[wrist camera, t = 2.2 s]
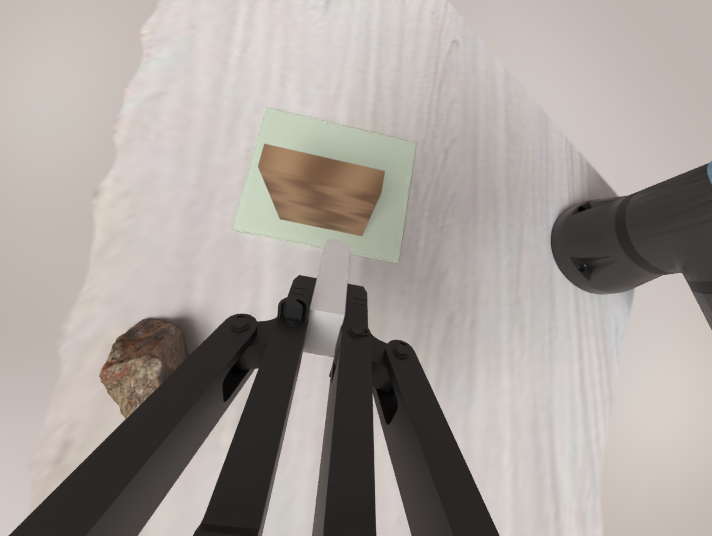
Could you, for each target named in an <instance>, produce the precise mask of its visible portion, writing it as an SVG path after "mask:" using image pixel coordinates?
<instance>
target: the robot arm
mask: <svg viewBox="0 0 712 536" xmlns="http://www.w3.org/2000/svg"><path fill="white" fill-rule="evenodd" d="M551 243H552V251H553V255H554V258H555V260H556V263H557V265H558V266H559V268H560V270H561V271H562V273H563V274H564V275H565V276H566V277H567V278H568V279H569V280H570V281H571V282H572V283H573V284H574V285H576V286H577V287H579V288H580V289H582V290H584V291H587V292H590V293H594V294H612V293H620V292H625V291H628V290H630V289H633V288H635V287H637V286H639V285H642V284H644V283H646V282H648V281H651V280H653V279H655V278H658V277H660V276H662V275H667V274H674V273H682V274H683V275H684V277H685V279H686V281H687V283H688V284H689V286H690V288H691V290H692V292H693V294H694V296H695V298H696V300H697V302H698V304H699V306H700V308H701V310H702V312H703V314H704V316H705V318H706V320H707V322H708V324H709V326H710V328H711V329H712V161H711V162H710V163H708V164H705V165H703V166H700V167H698V168H695V169H693V170H690V171H688V172H686V173H683V174H681V175H678V176H676V177H673V178H671V179H668V180H666V181H663V182H661V183H658V184H656V185H653V186H651V187H648V188H646V189H644V190H641V191H639V192H636V193H634V194H631V195H629V196H623V197H614V198H606V199H598V200H590V201H586V202H583V203H580V204H578V205H576V206H574V207H572V208H570V209H568V210H566V211H565V212H563V213H562V214H561V215H560V216H559V218H558V219H557V221H556V223H555V225H554V227H553V231H552V238H551ZM350 245H351V243H349V242H344V241H339V240H334V239H329V238H327V240H326V244H325V248H324V252H323V256H322V260H321V264H320V269H319V273H318V277H317V278H312V277H307V276H302V275H299V276H298V277H297V278H295V279H294V280H293V283H292V286H291V288H290V291H289V294H288V297H287V298H284V299H283V300H281V301H280V303H279V305H278V316H277V317H276V318H275V319H272V320H269V321H259V322H257V321H256V319H255V318H254V317H252V316H251V315H248V314H236V315H233V316H230V317H229V318H227V319H226V320H225V321H224V322H223V323H222V324H221V325H220V326H219V327H218V328H217V329H216V330H215V331H214V332H213V333H212V334H211V335H210V336H209V337H208V338H207V339H206V340H205V341H204V342H203V343H202V344H201V345H200V346H199V347H198V348H197V349H196V350H195V351H194V352H193V353H192V354H191V355H190V356H189V357H188V358H187V359H186V360H185V361H184V362H183V363H182V364H181V365H180V366H179V367H178V368H177V369H176V370H175V371H174V372H173V373H172V374H171V375H170V376H169V377H168V378H167V379H166V380H165V381H164V382H163V383H162V384H161V385H160V386H159V387H158V388H157V389H156V390H155V391H154V392H153V393H152V394H151V395H150V396H149V397H148V398H147V399H146V400H145V401H144V402H143V403H142V404H141V405H140V406H139V407H138V408H137V409H136V410H135V411H134V412H133V413H132V414H131V415H130V416H129V417H128V418H127V419H126V420H124V421H123V422H122V423H121V424H120V425H119V426H118V427H117V428H116V429H115V430H114V431H113V432H112V433H111V434H110V435H109V436H108V437H107V438H106V439H105V440H104V441H103V442H102V443H101V444H100V445H99V446H98V447H97V448H96V449H95V450H94V451H93V452H92V453H91V454H90V455H89V456H88V457H87V458H86V459H85V460H84V461H83V462H82V463H81V464H80V465H79V466H78V467H77V468H76V469H75V470H74V471H73V472H72V473H71V474H70V475H69V476H68V477H67V478H66V479H65V480H64V481H63V482H62V483H61V484H60V485H59V486H58V487H57V488H56V489H55V490H54V491H53V492H52V493H51V494H50V495H49V496H48V497H47V498H46V499H45V500H44V501H43V502H42V503H41V504H40V505H39V506H38V507H37V508H36V509H35V510H34V511H33V512H32V513H31V514H30V515H29V516H28V517H27V518H26V519H25V520H24V521H23V522H22V523H21V524H20V525H19V526H18V527H17V528H16V529H15V530H14V531H13V532H12V533H11V534H10V535H9V536H138V534H139V533H140V532H141V530H142V529H143V527H144V526H145V525H146V523H147V522H148V520H149V519H150V517H151V516H152V515H153V513H154V512H155V510H156V509H157V507H158V506H159V505H160V503H161V502H162V500H163V499H164V498H165V496H166V495H167V493H168V492H169V490H170V489H171V488H172V486H173V485H174V483H175V482H176V481H177V479H178V478H179V476H180V475H181V473H182V472H183V471H184V469H185V468H186V466H187V465H188V463H189V462H190V461H191V459H192V458H193V456H194V455H195V454H196V452H197V451H198V449H199V448H200V446H201V445H202V444H203V442H204V441H205V439H206V438H207V437H208V435H209V434H210V432H211V431H212V429H213V428H214V427H215V425H216V424H217V422H218V421H219V419H220V418H221V417H222V415H223V414H224V412H225V411H226V410H227V408H228V407H229V405H230V404H231V402H232V401H233V400H234V398H235V397H236V395H237V394H238V393H239V391H240V390H241V388H242V387H243V385H244V384H245V383H246V381H247V380H248V378H249V377H250V376H251V374H252V373H253V371H254V369H257V368H259V369H258V372H257V375H256V377H255V380H254V383H253V385H252V388H251V391H250V394H249V396H248V399H247V402H246V405H245V407H244V410H243V413H242V415H241V418H240V421H239V424H238V426H237V429H236V432H235V434H234V437H233V440H232V443H231V445H230V448H229V451H228V453H227V456H226V459H225V462H224V464H223V467H222V470H221V472H220V475H219V478H218V481H217V483H216V486H215V489H214V492H213V494H212V497H211V500H210V502H209V505H208V508H207V511H206V513H205V516H204V518H203V520H202V522H201V524H200V525H199V527H198V528H197V529H196V531H195V533H194V535H193V536H262V533H263V528H264V524H265V519H266V515H267V511H268V506H269V502H270V497H271V493H272V488H273V484H274V479H275V475H276V470H277V466H278V461H279V457H280V453H281V448H282V444H283V439H284V435H285V430H286V426H287V421H288V417H289V412H290V408H291V403H292V399H293V395H294V390H295V386H296V381H297V377H298V372H299V368H300V363H301V358H302V353H303V352H307V353H313V354H319V355H325V356H331V357H334V361H333V364H332V368H331V372H330V375H329V377H331V378H330V387H329V395H328V404H327V413H326V421H325V430H324V438H323V447H322V455H321V464H320V473H319V481H318V490H317V498H316V507H315V515H314V524H313V533H312V536H376V513H375V474H374V435H373V396H374V400H375V403H376V407H377V411H378V414H379V418H380V422H381V425H382V429H383V433H384V436H385V440H386V444H387V447H388V451H389V455H390V458H391V462H392V465H393V469H394V473H395V476H396V480H397V484H398V487H399V491H400V495H401V498H402V502H403V506H404V509H405V513H406V517H407V520H408V524H409V528H410V531H411V535H412V536H499V534H498V531H497V529H496V527H495V525H494V523H493V521H492V518H491V516H490V514H489V512H488V510H487V508H486V505H485V503H484V501H483V499H482V497H481V494H480V492H479V490H478V488H477V486H476V484H475V481H474V479H473V477H472V475H471V473H470V471H469V468H468V466H467V464H466V462H465V460H464V458H463V455H462V453H461V451H460V449H459V447H458V445H457V442H456V440H455V438H454V436H453V434H452V431H451V429H450V427H449V425H448V423H447V421H446V418H445V416H444V414H443V412H442V410H441V408H440V405H439V403H438V401H437V399H436V397H435V395H434V392H433V390H432V388H431V386H430V384H429V382H428V379H427V377H426V375H425V373H424V371H423V369H422V366H421V364H420V362H419V360H418V358H417V355H416V353H415V351H414V350H413V348H412V347H411V346H410V345H409V344H408V343H406V342H404V341H401V340H392V341H390V342H389V343H388V344H387V343H385V342H383V341H380V340H378V339H377V338H375V337H374V336H373V335H372V334H371V333H370V330H369V329H368V311H367V292H366V290H365V289H364V287H362V286H357V285H352V284H347V281H348V269H349V257H350ZM372 393H373V396H372Z"/></svg>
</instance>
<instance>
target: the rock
mask: <svg viewBox="0 0 712 536" xmlns="http://www.w3.org/2000/svg"><path fill="white" fill-rule="evenodd" d="M187 358H188V356H187V351H186V347H185V343H184V336H183V333H182V331H181V329H179V328H178V327H175V326H174V325H173V323H165V324H164V323H163V322H162V321H161V320H155V319H146V320H141V321H140V322H139V323H137V324H136V325H135V326H134V327H132V328H131V329H130V330H128V331H127V332H126V333H125V334H123V335H121V336H119V337H118V338H117V340H116V342H115V343H114V344H113V346H112V350H111V352H110V355H109V357H108V359H107V361H106V363H105V364H104V366H103V368H102V369H101V373H100V376H99V377H100V378H101V382H102V383H103V384H104V386H105V387H106V389H107V392H108V394H109V395H110V396H111V397H112V399H113V400H114V401H115V402H116V403H117V404H118V405H119V407H120V411H121V413H122V415H123V416H124V417H125V418H126V419H127V418H128V417H129V416H130V415H131V414H132V413H133V412H134V411H135V410H136V409H137V408H138V407H139V406H140V405H141V404H142V403H143V402H144V401H145V400H146V399H147V398H148V397H149V396H150V395H151V394H152V393H153V392H154V391H155V390H156V389H157V388H158V387H159V386H160V385H161V384H162V383H163V382H164V381H165V380H166V379H167V378H168V377H169V376H170V375H171V374H172V373H173V372H174V371H175V370H176V369H177V368H178V367H179V366H180V365H181V364H182V363H183V362H184V361H185V360H186V359H187Z"/></svg>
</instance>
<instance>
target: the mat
mask: <svg viewBox="0 0 712 536" xmlns="http://www.w3.org/2000/svg"><path fill="white" fill-rule="evenodd" d="M264 144H268V145H273V146H277V147H282V148H286V149H290V150H295V151H299V152H304V153H308V154H312V155H317V156H321V157H326V158H330V159H334V160H339V161H343V162H348V163H352V164H356V165H361V166H365V167H370V168H374V169H378V170H383V171H385V175H384V181H383V187H382V192H381V195H380V198H379V200H378V202H377V204H376V206H375V209H374V211H373V213H372V215H371V217H370V219H369V222H368V224H367V226H366V228H365V230H364V232H363V235H362V236H358V235H353V234H348V233H343V232H339V231H334V230H329V229H324V228H319V227H314V226H310V225H305V224H300V223H295V222H290V221H285V220H281V219H279V216H278V214H277V211H276V209H275V207H274V204H273V202H272V199H271V197H270V195H269V192H268V190H267V187H266V185H265V183H264V180H263V178H262V175H261V173H260V171H259V168H258V164H259V161H260V157H261V153H262V150H263V146H264ZM415 148H416V143H414V142H410V141H406V140H402V139H398V138H393V137H389V136H385V135H381V134H377V133H372V132H368V131H364V130H360V129H356V128H351V127H347V126H343V125H339V124H335V123H330V122H326V121H322V120H318V119H314V118H309V117H305V116H301V115H297V114H293V113H288V112H284V111H280V110H276V109H272V108H267V107H266V111H265V115H264V118H263V122H262V125H261V129H260V132H259V136H258V139H257V143H256V146H255V150H254V154H253V157H252V161H251V164H250V168H249V171H248V175H247V178H246V182H245V185H244V189H243V193H242V196H241V200H240V203H239V207H238V210H237V214H236V217H235V221H234V224H233V228H232V229H233V230H234V231H239V232H244V233H249V234H254V235H259V236H264V237H269V238H274V239H279V240H283V241H288V242H293V243H298V244H303V245H308V246H313V247H318V248H323V249H324V248H325V244H326V240H327V238H329V239H334V240H339V241H344V242H349V243H351V245H350V254H353V255H358V256H363V257H368V258H373V259H378V260H383V261H388V262H393V263H398V262H399V256H400V249H401V243H402V236H403V229H404V222H405V216H406V209H407V202H408V196H409V189H410V182H411V175H412V169H413V162H414V155H415Z"/></svg>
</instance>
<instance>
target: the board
mask: <svg viewBox="0 0 712 536" xmlns="http://www.w3.org/2000/svg"><path fill="white" fill-rule="evenodd" d="M258 168H259V171H260V173H261V175H262V178H263V180H264V183H265V185H266V187H267V190H268V192H269V195H270V197H271V199H272V202H273V204H274V207H275V209H276V211H277V214H278V216H279V219H281V220H285V221H290V222H295V223H300V224H305V225H310V226H314V227H319V228H324V229H329V230H334V231H339V232H343V233H348V234H353V235H358V236H362V235H363V232H364V230H365V228H366V226H367V224H368V222H369V219H370V217H371V215H372V213H373V211H374V209H375V206H376V204H377V202H378V200H379V198H380V195H381V192H382V187H383V181H384V175H385V171H383V170H378V169H374V168H370V167H365V166H361V165H356V164H352V163H348V162H343V161H339V160H334V159H330V158H326V157H321V156H317V155H312V154H308V153H304V152H299V151H295V150H290V149H286V148H282V147H277V146H273V145H268V144H264V146H263V150H262V153H261V157H260V161H259V164H258Z"/></svg>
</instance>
